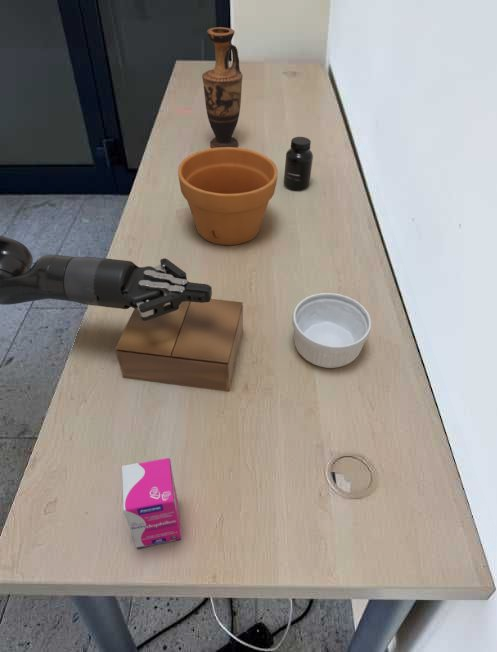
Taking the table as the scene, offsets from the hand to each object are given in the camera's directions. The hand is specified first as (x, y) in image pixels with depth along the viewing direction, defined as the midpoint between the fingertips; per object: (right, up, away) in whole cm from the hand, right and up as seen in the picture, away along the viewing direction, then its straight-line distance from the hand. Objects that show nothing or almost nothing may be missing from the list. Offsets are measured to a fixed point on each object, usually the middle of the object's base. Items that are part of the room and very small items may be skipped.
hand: (210, 294), depth 74 cm
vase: (-1, +49, +70) cm, 85 cm away
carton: (-5, -10, +11) cm, 15 cm away
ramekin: (+20, -9, +13) cm, 25 cm away
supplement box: (-6, -31, -10) cm, 33 cm away
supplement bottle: (+18, +32, +54) cm, 65 cm away
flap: (-10, -4, +6) cm, 12 cm away
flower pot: (+1, +18, +39) cm, 43 cm away
